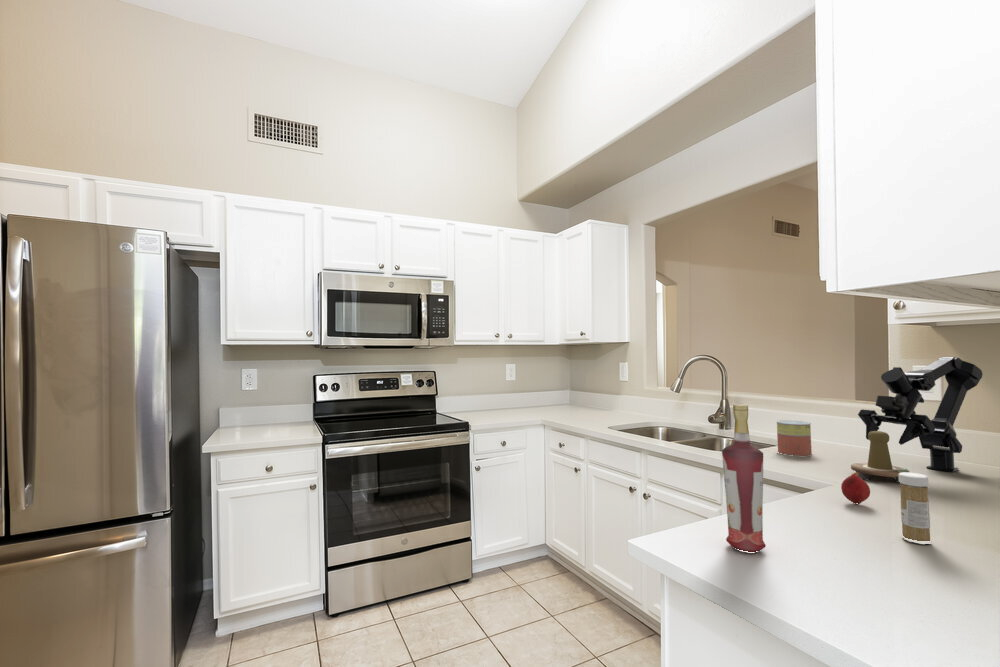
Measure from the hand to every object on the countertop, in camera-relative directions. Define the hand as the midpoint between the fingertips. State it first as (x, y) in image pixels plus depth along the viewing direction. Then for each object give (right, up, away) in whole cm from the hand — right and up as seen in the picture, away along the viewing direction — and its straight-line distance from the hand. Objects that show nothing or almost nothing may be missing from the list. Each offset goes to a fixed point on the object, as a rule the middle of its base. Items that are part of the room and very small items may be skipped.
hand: (883, 441), depth 145 cm
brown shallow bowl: (-2, -11, -1) cm, 11 cm away
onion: (-29, -10, -27) cm, 41 cm away
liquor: (-71, -9, -54) cm, 89 cm away
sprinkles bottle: (-35, -9, -51) cm, 62 cm away
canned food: (-5, -13, +36) cm, 39 cm away
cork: (-2, -8, -1) cm, 8 cm away
